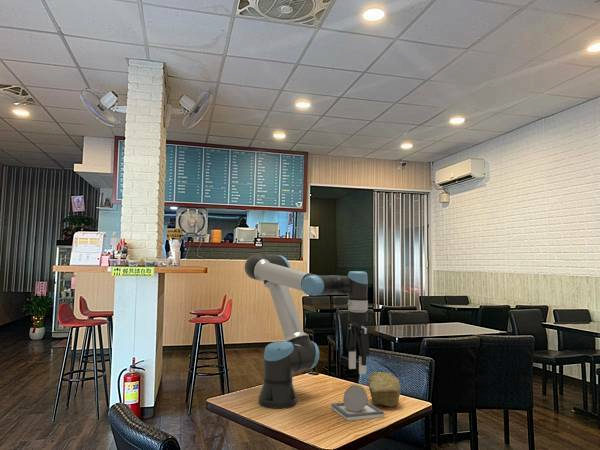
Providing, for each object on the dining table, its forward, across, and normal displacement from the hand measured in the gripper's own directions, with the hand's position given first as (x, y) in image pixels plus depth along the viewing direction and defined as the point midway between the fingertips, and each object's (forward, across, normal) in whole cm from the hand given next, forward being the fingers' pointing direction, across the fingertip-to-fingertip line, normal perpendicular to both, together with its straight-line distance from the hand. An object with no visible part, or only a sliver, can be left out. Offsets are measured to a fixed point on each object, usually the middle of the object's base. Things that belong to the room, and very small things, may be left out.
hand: (357, 371), depth 170 cm
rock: (+16, -7, +16) cm, 24 cm away
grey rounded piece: (+15, 0, 0) cm, 15 cm away
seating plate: (+15, 0, 0) cm, 15 cm away
